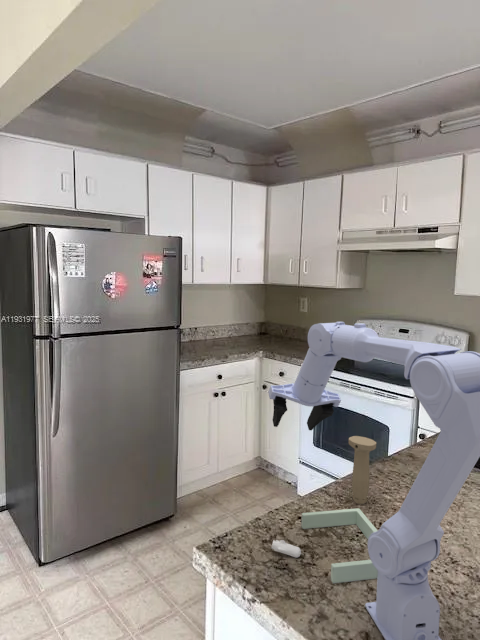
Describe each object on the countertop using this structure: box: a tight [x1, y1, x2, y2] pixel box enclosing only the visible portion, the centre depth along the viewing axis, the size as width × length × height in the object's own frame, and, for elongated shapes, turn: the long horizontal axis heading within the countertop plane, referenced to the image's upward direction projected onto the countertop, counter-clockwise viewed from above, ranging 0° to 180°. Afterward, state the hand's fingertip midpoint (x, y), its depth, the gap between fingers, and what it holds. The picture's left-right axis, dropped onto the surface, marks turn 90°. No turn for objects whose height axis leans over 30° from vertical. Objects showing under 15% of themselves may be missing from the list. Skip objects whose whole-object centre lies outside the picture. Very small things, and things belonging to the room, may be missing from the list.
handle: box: [348, 435, 377, 505], centre depth 107 cm, size 5×6×15 cm
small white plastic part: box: [271, 539, 304, 559], centre depth 87 cm, size 4×6×3 cm, turn 53°
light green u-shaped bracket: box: [300, 507, 379, 584], centre depth 89 cm, size 18×13×3 cm
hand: (292, 424), depth 94 cm, fingers open, 7 cm apart
